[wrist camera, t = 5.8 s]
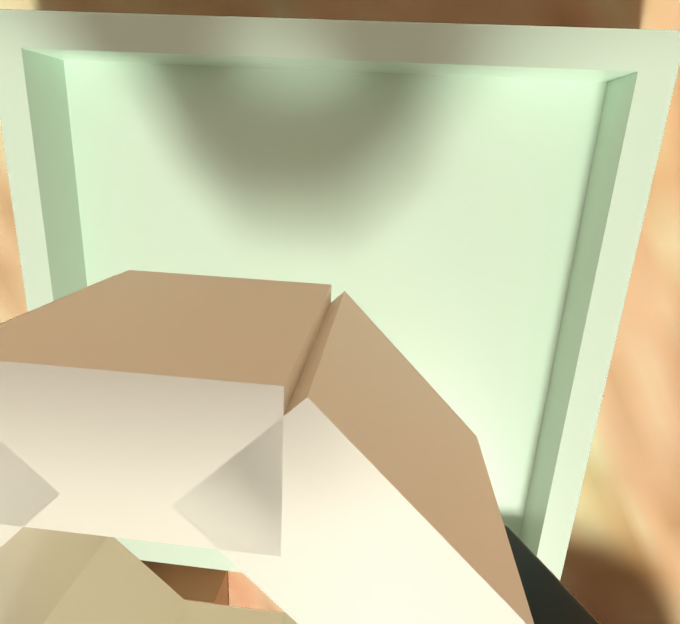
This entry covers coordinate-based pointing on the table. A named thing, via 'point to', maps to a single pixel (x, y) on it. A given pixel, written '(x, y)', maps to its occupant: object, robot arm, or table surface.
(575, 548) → the table surface
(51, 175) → the tray
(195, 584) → the stake board
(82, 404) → the ring
